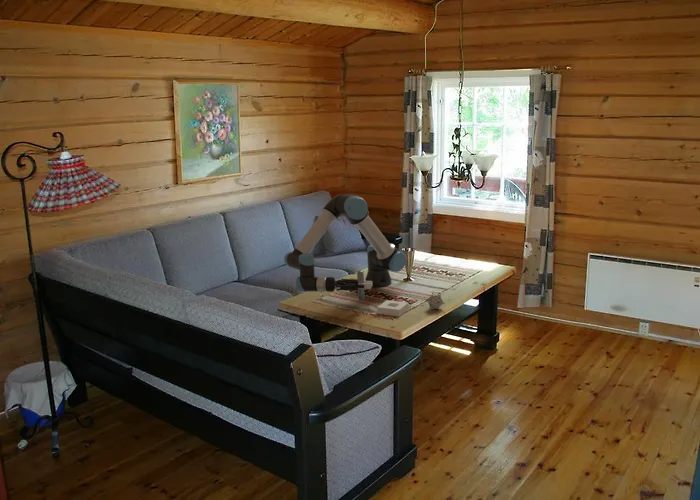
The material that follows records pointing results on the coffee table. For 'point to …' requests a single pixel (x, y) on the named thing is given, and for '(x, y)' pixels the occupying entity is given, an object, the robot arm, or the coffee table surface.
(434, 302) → the game die
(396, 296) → the coffee table surface
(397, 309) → the socket block
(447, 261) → the coffee table surface
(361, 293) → the pin
